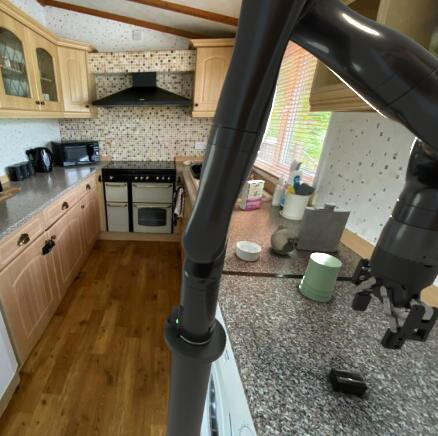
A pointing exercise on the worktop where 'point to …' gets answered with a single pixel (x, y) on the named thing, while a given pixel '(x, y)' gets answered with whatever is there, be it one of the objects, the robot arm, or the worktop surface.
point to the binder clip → (347, 382)
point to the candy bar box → (252, 195)
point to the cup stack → (320, 277)
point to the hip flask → (322, 228)
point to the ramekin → (248, 250)
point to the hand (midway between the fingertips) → (371, 327)
